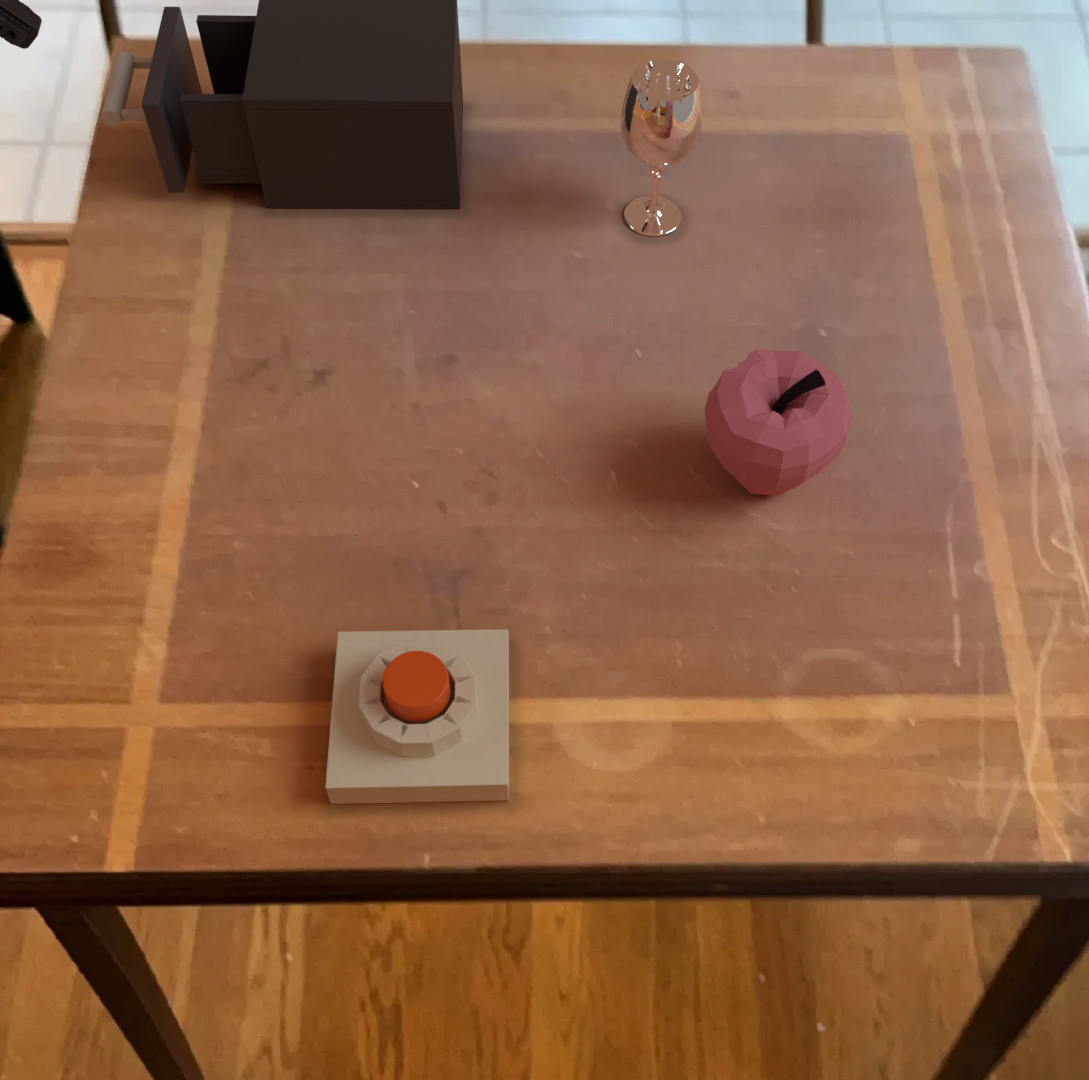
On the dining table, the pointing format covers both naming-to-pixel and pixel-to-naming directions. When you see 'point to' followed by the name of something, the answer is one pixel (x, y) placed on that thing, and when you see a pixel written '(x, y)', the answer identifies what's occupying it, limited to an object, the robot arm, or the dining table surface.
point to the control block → (427, 746)
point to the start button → (416, 686)
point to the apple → (777, 420)
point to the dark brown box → (356, 103)
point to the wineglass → (660, 134)
